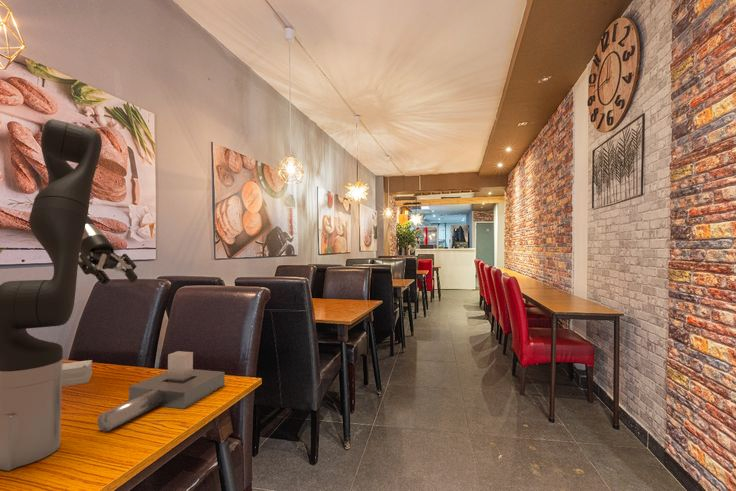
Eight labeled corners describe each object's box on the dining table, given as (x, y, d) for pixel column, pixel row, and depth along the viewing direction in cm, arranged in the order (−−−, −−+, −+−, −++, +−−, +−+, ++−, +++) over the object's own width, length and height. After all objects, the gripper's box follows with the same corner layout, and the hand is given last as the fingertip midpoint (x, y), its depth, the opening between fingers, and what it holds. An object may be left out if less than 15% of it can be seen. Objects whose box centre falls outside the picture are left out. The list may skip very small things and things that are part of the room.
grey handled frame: (136, 436, 71) (136, 417, 71) (74, 427, 75) (74, 409, 75) (224, 385, 99) (224, 371, 99) (175, 380, 103) (175, 367, 103)
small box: (59, 380, 104) (60, 363, 104) (92, 375, 108) (92, 359, 108) (53, 388, 97) (53, 370, 97) (88, 383, 102) (88, 366, 102)
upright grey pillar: (182, 396, 91) (183, 355, 91) (167, 395, 92) (168, 354, 93) (192, 391, 94) (193, 352, 95) (177, 390, 96) (177, 351, 96)
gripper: (72, 231, 93) (104, 273, 90) (121, 235, 107) (150, 271, 104) (57, 251, 94) (88, 293, 91) (107, 251, 108) (136, 288, 105)
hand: (121, 281), depth 98 cm, fingers open, 8 cm apart
